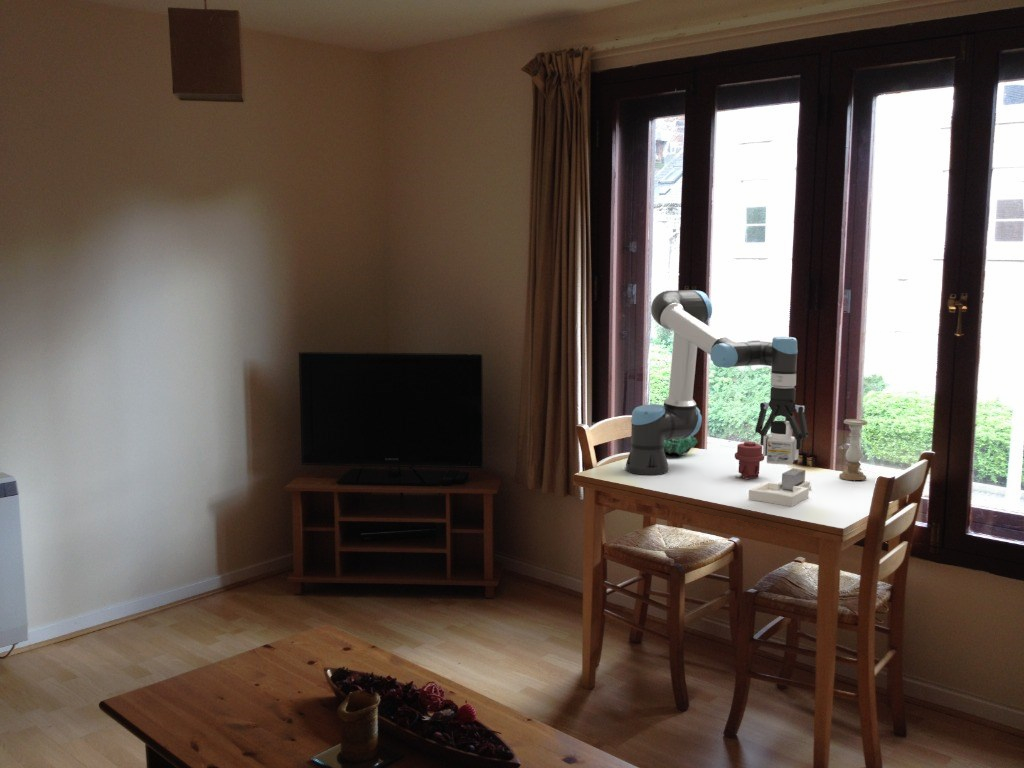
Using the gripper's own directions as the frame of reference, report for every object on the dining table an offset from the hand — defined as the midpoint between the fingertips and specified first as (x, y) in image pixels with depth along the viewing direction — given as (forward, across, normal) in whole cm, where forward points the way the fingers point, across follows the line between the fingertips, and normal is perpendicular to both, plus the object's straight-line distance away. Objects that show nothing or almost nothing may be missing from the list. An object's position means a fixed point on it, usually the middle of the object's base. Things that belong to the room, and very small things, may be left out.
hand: (780, 457), depth 279 cm
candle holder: (+13, +10, +42) cm, 45 cm away
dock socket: (+13, 0, +6) cm, 14 cm away
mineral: (+13, -57, +40) cm, 71 cm away
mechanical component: (+13, -19, +21) cm, 31 cm away
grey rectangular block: (+12, 0, +13) cm, 17 cm away
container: (+2, 0, 0) cm, 2 cm away
